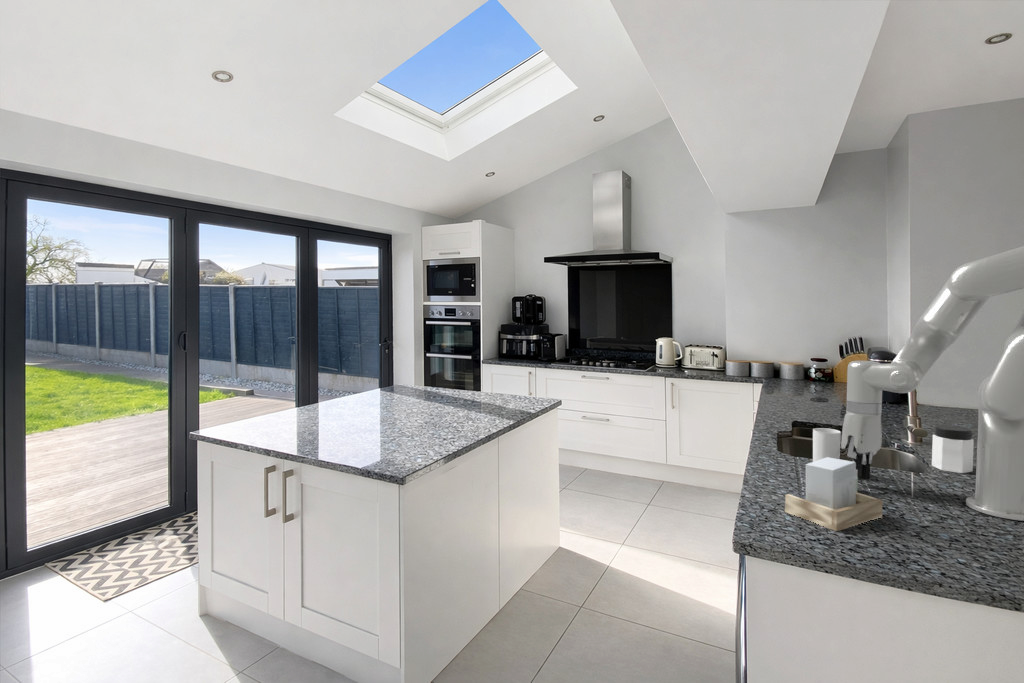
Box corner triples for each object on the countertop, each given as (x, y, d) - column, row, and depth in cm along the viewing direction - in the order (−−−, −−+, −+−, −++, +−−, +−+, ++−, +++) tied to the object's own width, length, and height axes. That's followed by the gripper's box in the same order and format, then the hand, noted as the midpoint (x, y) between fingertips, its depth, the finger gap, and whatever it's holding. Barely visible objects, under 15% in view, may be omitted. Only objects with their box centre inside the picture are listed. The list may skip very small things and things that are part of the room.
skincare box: (825, 499, 119) (826, 455, 119) (856, 508, 114) (857, 462, 113) (803, 508, 113) (804, 462, 113) (834, 518, 108) (835, 470, 108)
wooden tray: (882, 518, 111) (882, 500, 111) (836, 531, 104) (836, 512, 104) (829, 500, 121) (829, 484, 121) (784, 511, 114) (785, 494, 114)
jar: (979, 474, 141) (980, 432, 141) (946, 472, 143) (947, 430, 142) (957, 465, 150) (958, 425, 150) (926, 463, 152) (927, 424, 151)
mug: (831, 477, 139) (832, 434, 138) (807, 471, 145) (807, 429, 144) (850, 471, 144) (851, 430, 144) (826, 465, 150) (827, 425, 149)
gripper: (865, 404, 137) (863, 470, 138) (830, 408, 131) (829, 477, 132) (896, 408, 131) (894, 478, 132) (861, 413, 124) (859, 486, 125)
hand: (861, 477), depth 132 cm, fingers closed
